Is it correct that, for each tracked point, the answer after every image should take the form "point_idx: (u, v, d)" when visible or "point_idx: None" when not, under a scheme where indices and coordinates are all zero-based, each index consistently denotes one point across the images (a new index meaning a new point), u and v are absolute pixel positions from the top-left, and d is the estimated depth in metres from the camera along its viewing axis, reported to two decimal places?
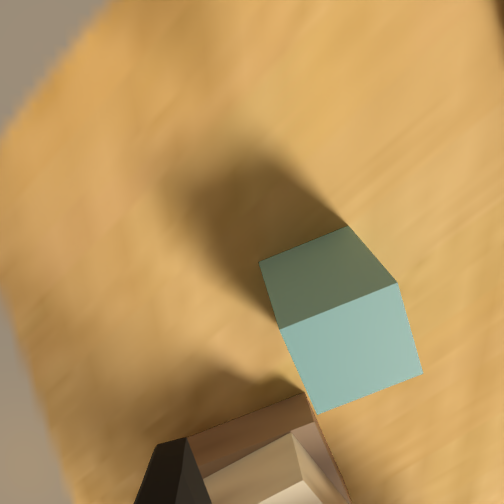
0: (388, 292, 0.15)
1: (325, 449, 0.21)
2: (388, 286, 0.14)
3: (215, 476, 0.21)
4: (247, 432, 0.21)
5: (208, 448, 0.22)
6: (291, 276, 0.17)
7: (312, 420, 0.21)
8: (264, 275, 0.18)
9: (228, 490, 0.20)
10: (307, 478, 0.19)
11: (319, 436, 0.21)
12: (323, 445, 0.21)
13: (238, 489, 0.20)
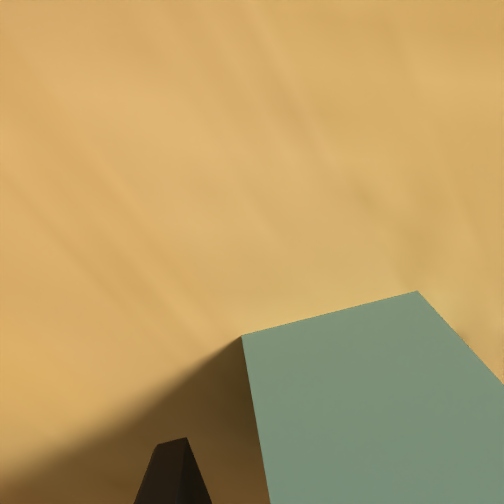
0: None
1: None
2: None
3: None
4: None
5: None
6: None
7: None
8: None
9: None
10: None
11: None
12: None
13: None
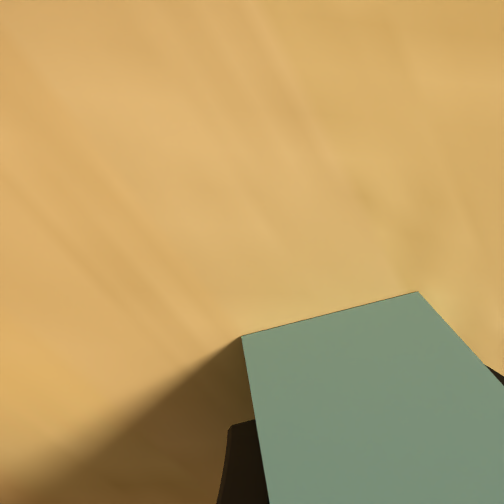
0: None
1: None
2: None
3: None
4: None
5: None
6: None
7: None
8: None
9: None
10: None
11: None
12: None
13: None
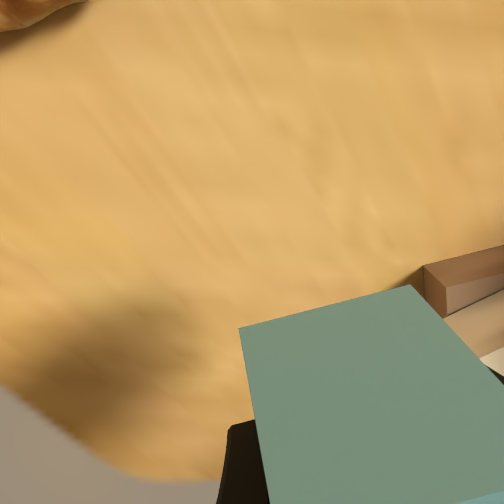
0: None
1: (494, 276, 0.18)
2: None
3: None
4: None
5: None
6: None
7: (444, 287, 0.18)
8: None
9: None
10: (482, 344, 0.16)
11: (470, 282, 0.18)
12: (486, 278, 0.18)
13: None
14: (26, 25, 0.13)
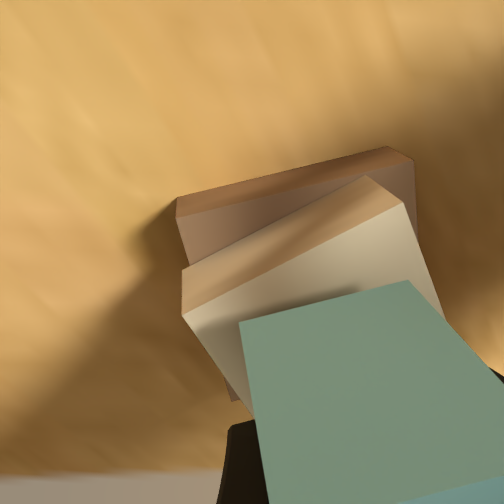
0: None
1: (241, 203, 0.13)
2: None
3: None
4: None
5: None
6: None
7: (176, 218, 0.13)
8: None
9: None
10: (204, 293, 0.12)
11: (209, 211, 0.13)
12: (231, 206, 0.13)
13: None
14: None
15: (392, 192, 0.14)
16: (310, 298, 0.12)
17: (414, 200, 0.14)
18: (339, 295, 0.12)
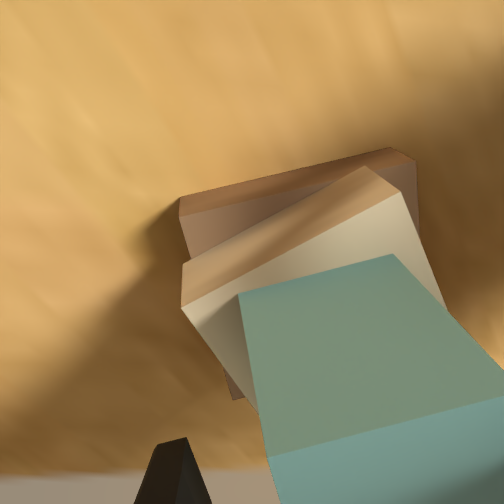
0: (286, 469, 0.07)
1: (244, 203, 0.13)
2: (272, 469, 0.07)
3: None
4: None
5: None
6: None
7: (179, 217, 0.13)
8: None
9: None
10: (203, 286, 0.12)
11: (212, 210, 0.13)
12: (234, 205, 0.13)
13: None
14: None
15: None
16: None
17: (416, 201, 0.14)
18: None
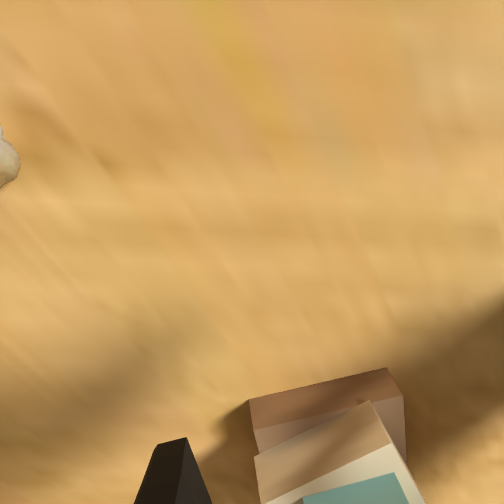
0: None
1: (294, 421, 0.21)
2: None
3: None
4: None
5: None
6: None
7: (253, 429, 0.21)
8: None
9: None
10: (272, 488, 0.20)
11: (274, 426, 0.21)
12: (288, 422, 0.21)
13: None
14: None
15: (389, 411, 0.21)
16: None
17: (403, 414, 0.22)
18: None
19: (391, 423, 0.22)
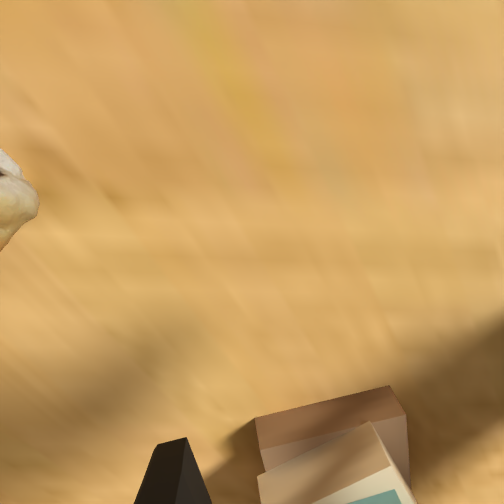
0: None
1: (300, 440, 0.21)
2: None
3: None
4: None
5: None
6: None
7: None
8: None
9: None
10: None
11: (280, 446, 0.21)
12: (294, 442, 0.21)
13: None
14: None
15: (392, 430, 0.22)
16: None
17: (406, 432, 0.22)
18: None
19: (394, 441, 0.22)
